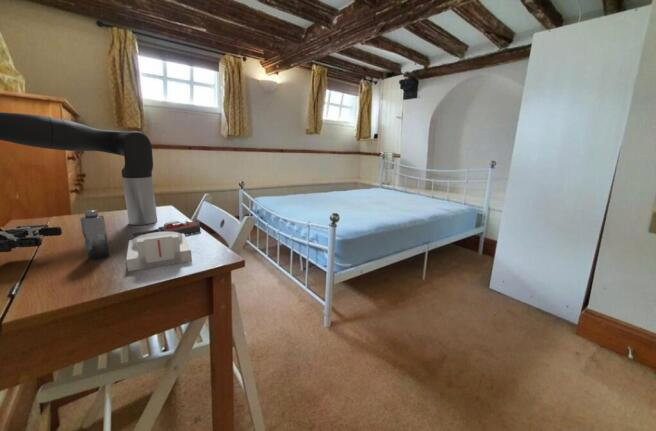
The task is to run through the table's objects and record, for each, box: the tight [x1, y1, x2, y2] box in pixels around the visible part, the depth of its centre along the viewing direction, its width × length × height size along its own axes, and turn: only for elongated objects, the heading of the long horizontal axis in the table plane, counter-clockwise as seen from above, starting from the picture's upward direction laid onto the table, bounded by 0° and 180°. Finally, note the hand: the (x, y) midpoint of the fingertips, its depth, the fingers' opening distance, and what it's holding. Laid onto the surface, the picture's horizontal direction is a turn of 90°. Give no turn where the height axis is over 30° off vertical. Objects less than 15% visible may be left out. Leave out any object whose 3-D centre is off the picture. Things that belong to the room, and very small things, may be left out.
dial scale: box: [126, 232, 193, 272], centre depth 79 cm, size 17×14×8 cm
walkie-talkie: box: [131, 220, 201, 237], centre depth 98 cm, size 9×4×20 cm
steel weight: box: [79, 209, 111, 261], centre depth 77 cm, size 5×5×13 cm
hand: (51, 235), depth 74 cm, fingers open, 8 cm apart
